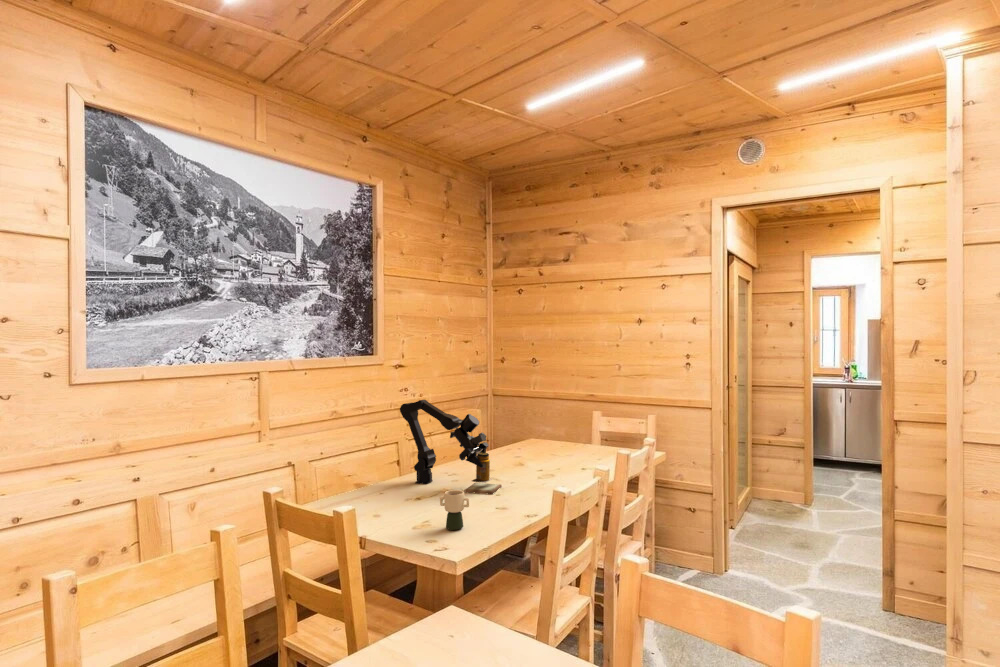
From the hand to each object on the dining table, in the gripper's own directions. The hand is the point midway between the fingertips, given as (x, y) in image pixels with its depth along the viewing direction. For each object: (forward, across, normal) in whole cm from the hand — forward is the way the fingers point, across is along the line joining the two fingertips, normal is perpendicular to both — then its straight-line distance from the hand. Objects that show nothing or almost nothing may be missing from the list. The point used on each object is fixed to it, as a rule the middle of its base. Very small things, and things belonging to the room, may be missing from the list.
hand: (485, 465), depth 259 cm
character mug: (+19, -52, -3) cm, 55 cm away
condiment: (+4, -1, +6) cm, 7 cm away
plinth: (+7, 0, +9) cm, 11 cm away
